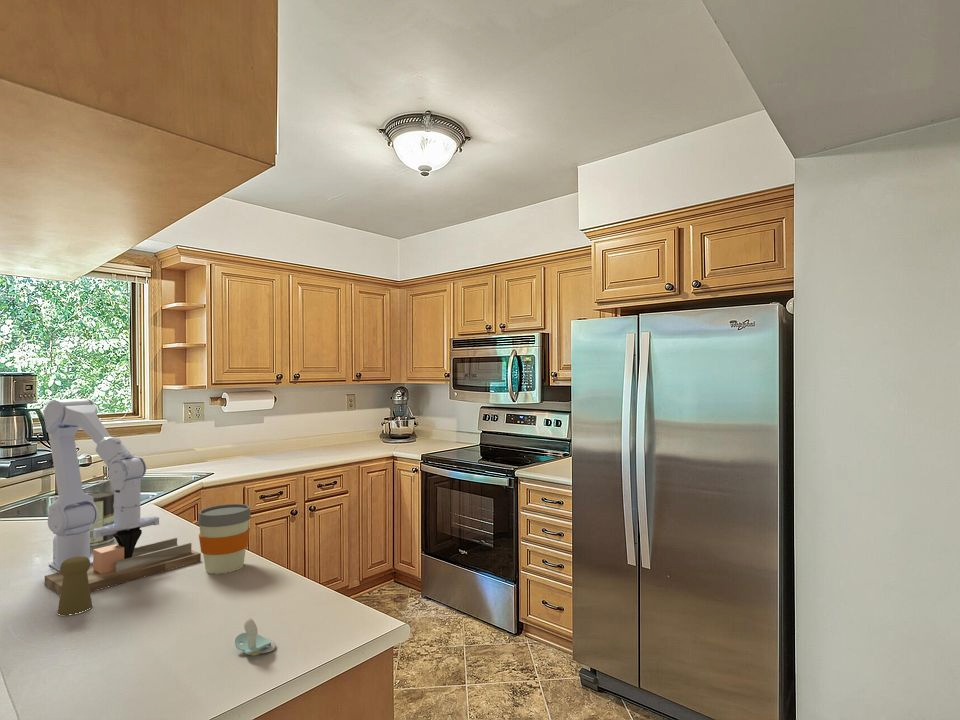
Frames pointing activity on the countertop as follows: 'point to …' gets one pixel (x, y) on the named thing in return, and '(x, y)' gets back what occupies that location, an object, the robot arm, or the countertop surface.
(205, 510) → the reusable coffee cup
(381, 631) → the countertop surface
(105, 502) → the coffee can
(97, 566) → the block
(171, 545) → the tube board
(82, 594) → the cork
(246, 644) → the pacifier
